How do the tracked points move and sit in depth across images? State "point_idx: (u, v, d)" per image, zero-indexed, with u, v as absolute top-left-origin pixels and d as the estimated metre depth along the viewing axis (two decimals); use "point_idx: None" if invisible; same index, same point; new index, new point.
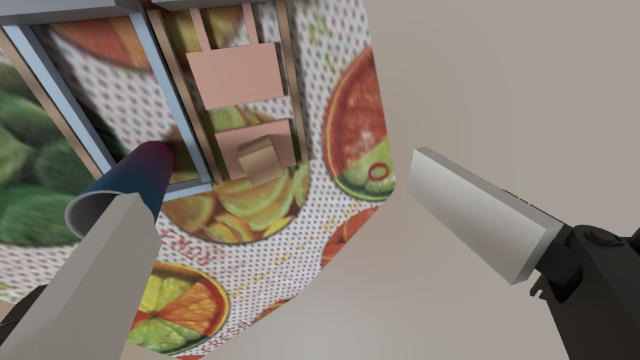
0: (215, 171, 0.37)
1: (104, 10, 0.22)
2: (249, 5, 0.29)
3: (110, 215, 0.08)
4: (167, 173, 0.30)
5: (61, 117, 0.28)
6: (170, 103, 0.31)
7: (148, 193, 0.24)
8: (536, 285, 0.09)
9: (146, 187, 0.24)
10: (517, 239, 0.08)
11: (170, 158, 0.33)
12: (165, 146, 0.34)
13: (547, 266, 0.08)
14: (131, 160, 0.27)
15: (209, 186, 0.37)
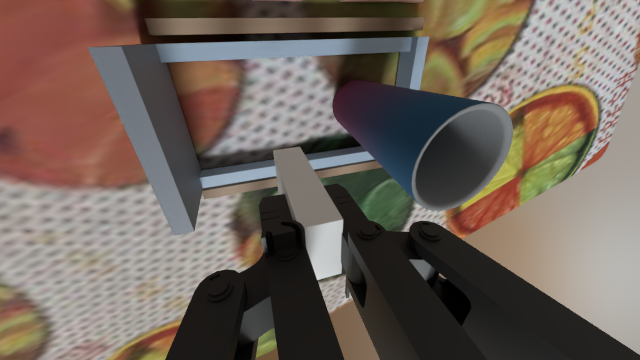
0: (401, 23, 0.22)
1: (148, 79, 0.15)
2: None
3: (283, 160, 0.12)
4: (390, 85, 0.19)
5: None
6: (287, 53, 0.20)
7: (438, 103, 0.13)
8: (346, 288, 0.09)
9: (423, 104, 0.14)
10: None
11: (364, 82, 0.22)
12: (344, 86, 0.24)
13: (345, 271, 0.08)
14: (361, 122, 0.19)
15: (422, 40, 0.22)
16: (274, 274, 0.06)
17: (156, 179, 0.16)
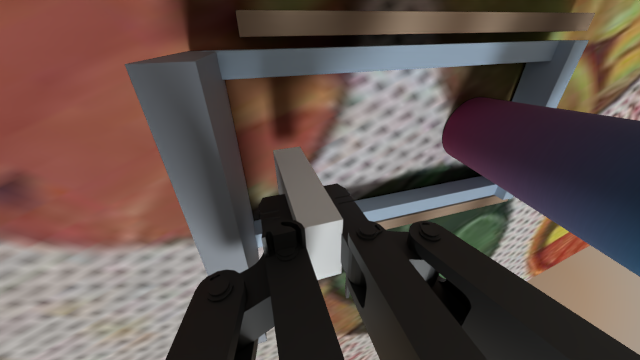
0: (565, 20, 0.15)
1: (219, 115, 0.08)
2: None
3: (283, 160, 0.12)
4: (580, 112, 0.13)
5: (385, 221, 0.20)
6: (399, 64, 0.13)
7: None
8: (346, 288, 0.09)
9: None
10: None
11: (506, 103, 0.16)
12: (467, 106, 0.18)
13: (345, 271, 0.08)
14: (544, 168, 0.12)
15: (579, 46, 0.15)
16: (274, 274, 0.06)
17: None
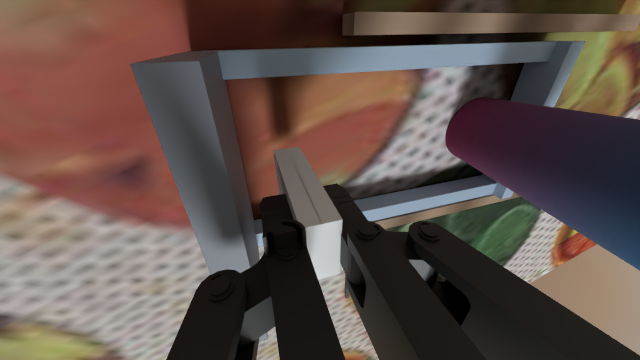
0: (618, 21, 0.17)
1: (221, 114, 0.08)
2: None
3: (283, 160, 0.12)
4: (582, 112, 0.13)
5: (440, 207, 0.22)
6: (398, 64, 0.14)
7: None
8: (346, 288, 0.09)
9: None
10: None
11: (509, 103, 0.16)
12: (470, 107, 0.18)
13: (345, 272, 0.08)
14: (547, 167, 0.13)
15: (576, 46, 0.16)
16: (275, 274, 0.06)
17: None
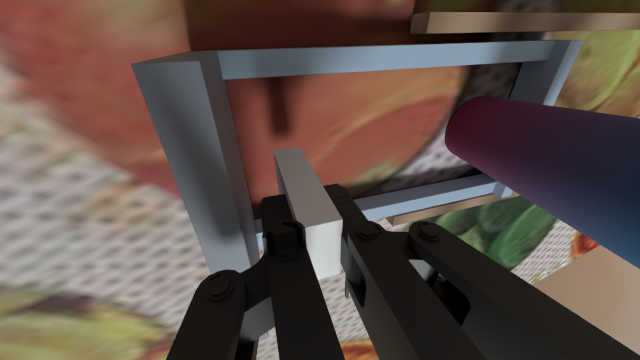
0: None
1: (221, 114, 0.08)
2: None
3: (283, 160, 0.12)
4: (580, 110, 0.13)
5: (479, 197, 0.23)
6: (397, 63, 0.14)
7: None
8: (346, 288, 0.09)
9: None
10: None
11: (508, 102, 0.16)
12: (469, 106, 0.18)
13: (345, 271, 0.08)
14: (546, 165, 0.13)
15: (574, 45, 0.16)
16: (275, 274, 0.06)
17: None
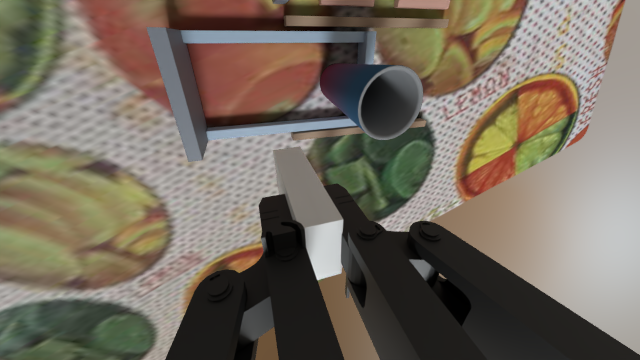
0: (433, 22, 0.33)
1: (177, 51, 0.23)
2: None
3: (283, 160, 0.12)
4: None
5: (351, 128, 0.37)
6: (271, 40, 0.28)
7: (375, 67, 0.22)
8: (346, 287, 0.09)
9: (367, 69, 0.23)
10: None
11: (341, 63, 0.31)
12: (327, 67, 0.33)
13: (345, 271, 0.08)
14: (335, 88, 0.27)
15: (371, 34, 0.30)
16: (274, 274, 0.06)
17: (179, 117, 0.24)
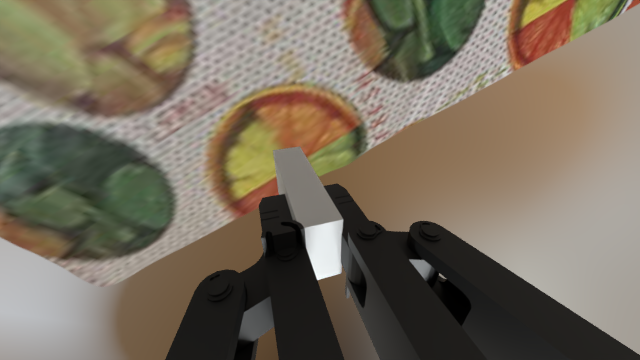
0: None
1: None
2: None
3: (283, 160, 0.12)
4: None
5: None
6: None
7: None
8: (346, 288, 0.09)
9: None
10: None
11: None
12: None
13: (345, 271, 0.08)
14: None
15: None
16: (274, 274, 0.06)
17: None
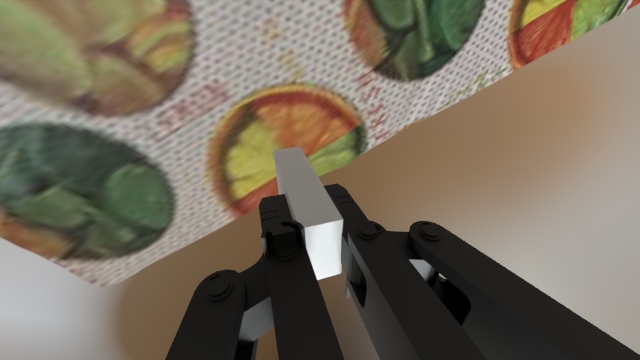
0: None
1: None
2: None
3: (283, 160, 0.12)
4: None
5: None
6: None
7: None
8: (346, 288, 0.09)
9: None
10: None
11: None
12: None
13: (345, 271, 0.08)
14: None
15: None
16: (274, 274, 0.06)
17: None
